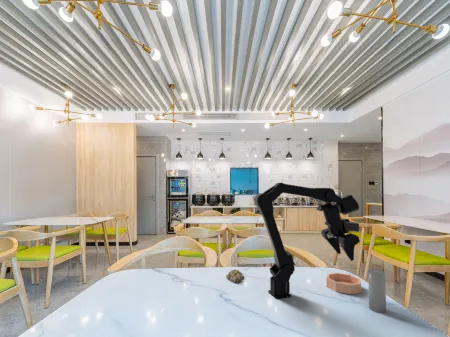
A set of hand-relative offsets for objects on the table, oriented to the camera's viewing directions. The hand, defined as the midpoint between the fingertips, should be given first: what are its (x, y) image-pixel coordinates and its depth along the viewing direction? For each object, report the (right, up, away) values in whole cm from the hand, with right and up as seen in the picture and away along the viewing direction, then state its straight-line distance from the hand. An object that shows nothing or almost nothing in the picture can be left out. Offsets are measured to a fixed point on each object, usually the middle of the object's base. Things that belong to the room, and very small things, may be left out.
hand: (345, 256), depth 98 cm
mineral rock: (-43, -15, +13) cm, 47 cm away
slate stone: (+5, -13, -13) cm, 19 cm away
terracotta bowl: (+2, -14, +5) cm, 15 cm away
